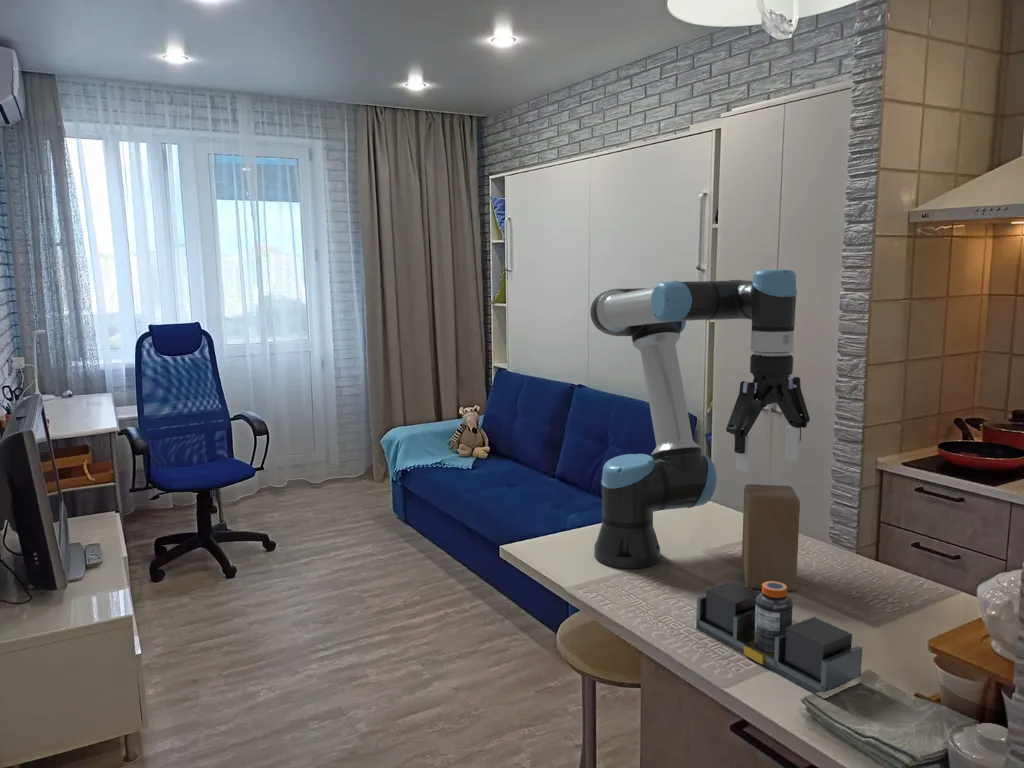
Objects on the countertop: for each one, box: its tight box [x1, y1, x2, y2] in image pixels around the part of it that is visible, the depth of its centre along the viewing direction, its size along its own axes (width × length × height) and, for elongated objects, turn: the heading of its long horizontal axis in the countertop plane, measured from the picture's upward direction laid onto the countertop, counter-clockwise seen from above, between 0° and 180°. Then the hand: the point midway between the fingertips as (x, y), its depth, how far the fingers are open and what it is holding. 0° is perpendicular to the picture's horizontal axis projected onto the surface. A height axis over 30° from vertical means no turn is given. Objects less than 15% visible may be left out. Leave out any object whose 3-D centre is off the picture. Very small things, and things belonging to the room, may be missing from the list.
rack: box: [695, 580, 863, 694], centre depth 126 cm, size 27×9×8 cm, turn 31°
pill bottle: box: [755, 581, 793, 655], centre depth 126 cm, size 6×6×11 cm
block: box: [741, 484, 801, 592], centre depth 155 cm, size 10×10×20 cm
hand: (767, 465), depth 140 cm, fingers open, 13 cm apart
